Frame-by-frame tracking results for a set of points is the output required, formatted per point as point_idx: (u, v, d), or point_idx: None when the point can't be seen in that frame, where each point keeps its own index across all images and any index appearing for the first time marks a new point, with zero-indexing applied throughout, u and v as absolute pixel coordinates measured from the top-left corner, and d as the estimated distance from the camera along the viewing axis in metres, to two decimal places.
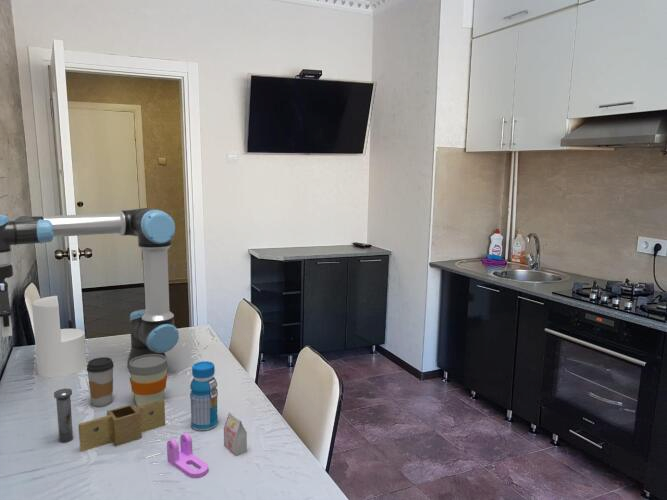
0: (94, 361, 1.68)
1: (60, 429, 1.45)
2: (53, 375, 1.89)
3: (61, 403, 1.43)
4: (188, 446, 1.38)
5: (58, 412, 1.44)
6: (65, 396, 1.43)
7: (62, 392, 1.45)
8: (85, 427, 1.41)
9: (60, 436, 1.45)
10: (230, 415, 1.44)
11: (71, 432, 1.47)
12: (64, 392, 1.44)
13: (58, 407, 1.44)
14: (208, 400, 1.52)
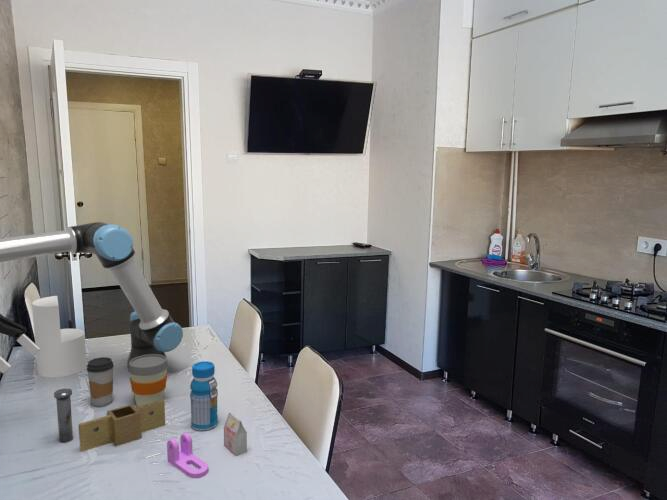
0: (94, 361, 1.68)
1: (60, 429, 1.45)
2: (53, 375, 1.89)
3: (61, 403, 1.43)
4: (188, 446, 1.38)
5: (58, 412, 1.44)
6: (65, 396, 1.43)
7: (62, 392, 1.45)
8: (85, 427, 1.41)
9: (60, 436, 1.45)
10: (230, 415, 1.44)
11: (71, 432, 1.47)
12: (64, 392, 1.44)
13: (58, 407, 1.44)
14: (208, 400, 1.52)
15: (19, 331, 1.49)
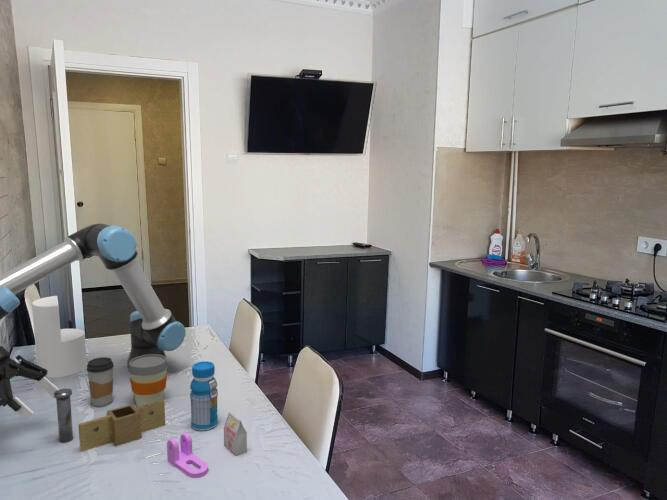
0: (94, 361, 1.68)
1: (60, 429, 1.45)
2: (53, 375, 1.89)
3: (61, 403, 1.43)
4: (188, 445, 1.38)
5: (58, 412, 1.44)
6: (65, 396, 1.43)
7: (62, 392, 1.45)
8: (85, 427, 1.41)
9: (60, 436, 1.45)
10: (230, 415, 1.44)
11: (71, 432, 1.47)
12: (64, 392, 1.44)
13: (58, 407, 1.44)
14: (208, 400, 1.52)
15: (40, 374, 1.50)
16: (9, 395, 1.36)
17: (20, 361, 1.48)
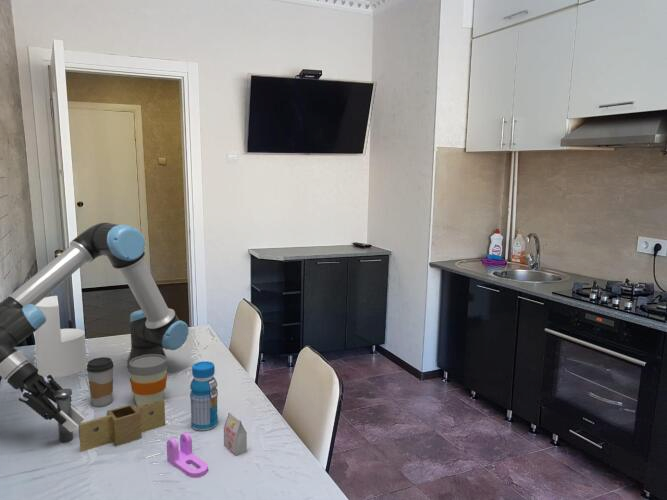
0: (94, 361, 1.68)
1: (60, 429, 1.45)
2: (53, 375, 1.89)
3: (61, 403, 1.43)
4: (187, 445, 1.38)
5: None
6: (65, 396, 1.43)
7: (62, 392, 1.45)
8: (85, 427, 1.41)
9: (60, 436, 1.45)
10: (230, 415, 1.44)
11: (71, 432, 1.47)
12: (64, 392, 1.44)
13: (58, 407, 1.44)
14: (208, 400, 1.52)
15: None
16: (54, 410, 1.42)
17: (49, 380, 1.49)
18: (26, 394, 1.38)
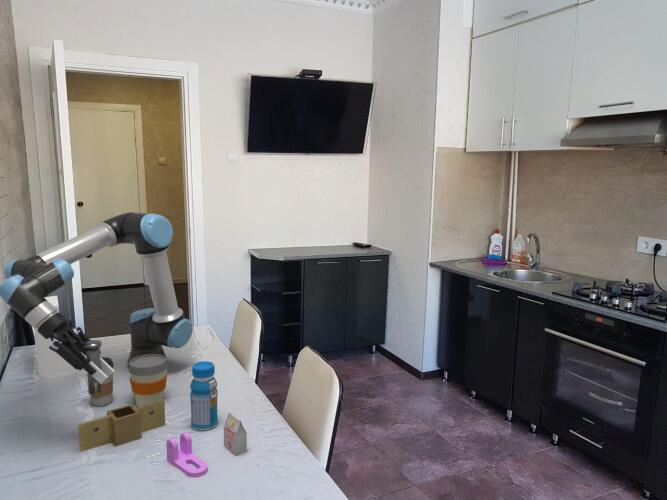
0: None
1: (89, 380, 1.43)
2: (53, 375, 1.89)
3: (91, 354, 1.41)
4: (187, 445, 1.38)
5: None
6: (95, 347, 1.41)
7: (91, 343, 1.42)
8: (85, 427, 1.41)
9: (89, 388, 1.43)
10: (230, 415, 1.44)
11: (100, 384, 1.45)
12: (94, 343, 1.42)
13: (87, 358, 1.42)
14: (208, 400, 1.52)
15: None
16: (84, 360, 1.40)
17: (78, 332, 1.47)
18: (56, 342, 1.36)
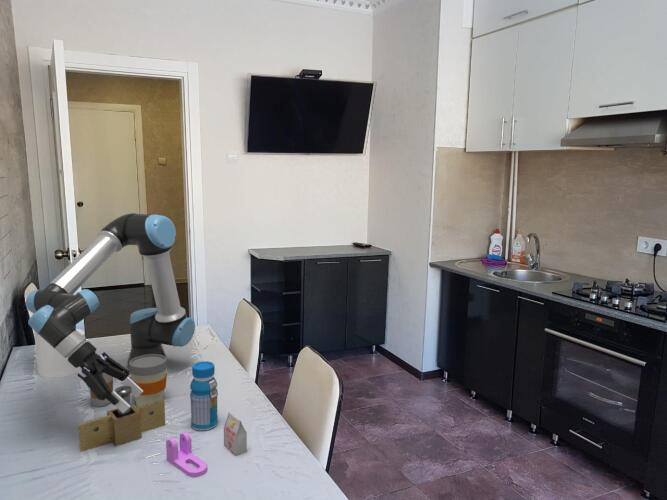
0: None
1: None
2: (53, 375, 1.89)
3: None
4: (187, 445, 1.38)
5: None
6: (126, 393, 1.46)
7: (122, 389, 1.47)
8: (85, 427, 1.41)
9: None
10: (230, 415, 1.44)
11: None
12: (124, 389, 1.47)
13: None
14: (208, 400, 1.52)
15: (123, 373, 1.51)
16: (107, 389, 1.41)
17: (105, 358, 1.51)
18: (85, 370, 1.39)
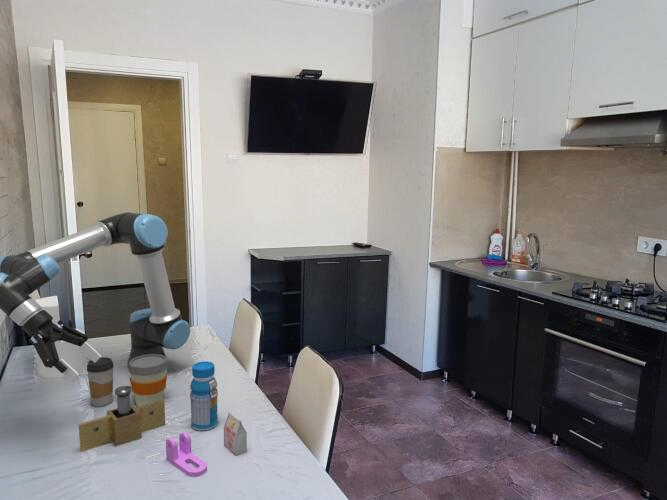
0: None
1: None
2: (53, 375, 1.89)
3: (122, 400, 1.46)
4: (186, 444, 1.38)
5: (119, 409, 1.47)
6: (126, 393, 1.46)
7: (122, 389, 1.47)
8: (85, 427, 1.41)
9: None
10: (230, 415, 1.44)
11: None
12: (124, 389, 1.47)
13: (118, 404, 1.46)
14: (208, 400, 1.52)
15: (81, 339, 1.51)
16: (55, 357, 1.37)
17: (62, 326, 1.49)
18: (36, 335, 1.37)
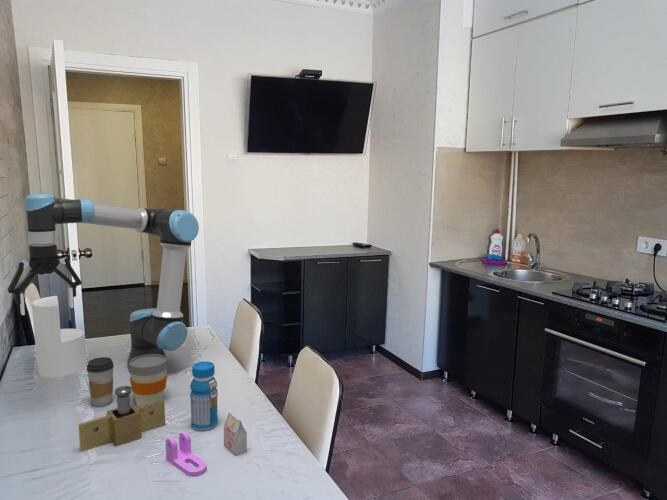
0: (94, 361, 1.68)
1: None
2: (53, 375, 1.89)
3: (122, 400, 1.46)
4: (186, 444, 1.38)
5: (118, 409, 1.47)
6: (126, 393, 1.46)
7: (122, 389, 1.47)
8: (85, 427, 1.41)
9: None
10: (230, 415, 1.44)
11: None
12: (124, 389, 1.47)
13: (118, 404, 1.46)
14: (208, 400, 1.52)
15: (70, 284, 1.59)
16: (18, 290, 1.50)
17: (64, 264, 1.58)
18: (20, 264, 1.50)
